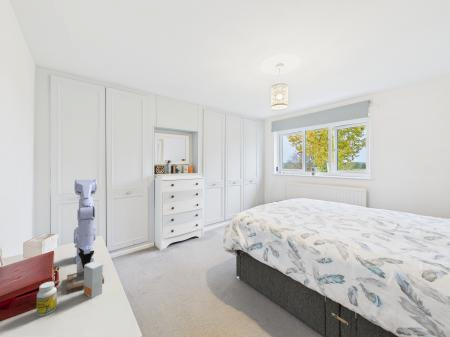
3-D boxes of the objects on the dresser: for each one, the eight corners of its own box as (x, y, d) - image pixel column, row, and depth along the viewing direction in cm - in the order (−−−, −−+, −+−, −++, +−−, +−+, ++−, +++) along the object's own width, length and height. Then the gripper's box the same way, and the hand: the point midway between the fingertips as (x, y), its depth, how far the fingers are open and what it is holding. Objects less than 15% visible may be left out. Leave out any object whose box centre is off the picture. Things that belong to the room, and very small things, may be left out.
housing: (92, 272, 93) (92, 257, 93) (93, 276, 90) (93, 261, 90) (76, 276, 90) (76, 261, 90) (77, 281, 87) (77, 265, 86)
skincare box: (83, 294, 81) (83, 264, 81) (94, 288, 85) (94, 260, 85) (91, 299, 78) (92, 268, 78) (102, 293, 82) (103, 264, 82)
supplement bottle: (59, 304, 75) (60, 279, 75) (50, 315, 70) (51, 288, 69) (42, 306, 74) (43, 280, 73) (32, 317, 68) (32, 289, 68)
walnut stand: (66, 279, 91) (66, 274, 91) (100, 270, 99) (100, 266, 99) (66, 294, 81) (66, 289, 81) (103, 283, 89) (103, 278, 89)
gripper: (74, 230, 93) (74, 259, 93) (75, 240, 81) (74, 273, 82) (92, 228, 97) (92, 255, 98) (95, 237, 86) (95, 268, 86)
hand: (85, 263), depth 90 cm, fingers open, 7 cm apart
